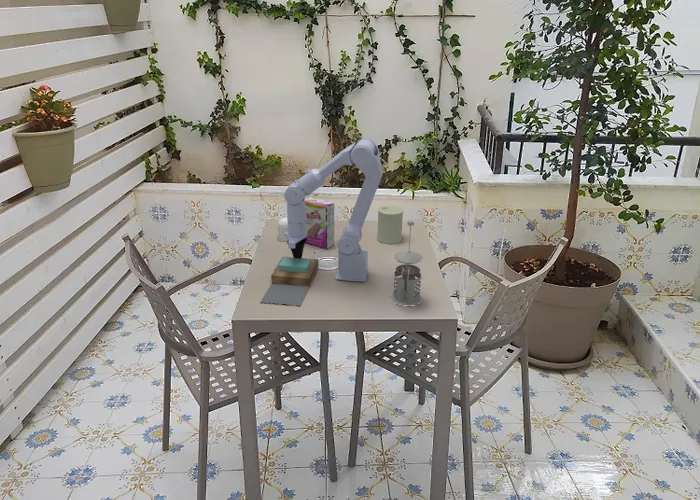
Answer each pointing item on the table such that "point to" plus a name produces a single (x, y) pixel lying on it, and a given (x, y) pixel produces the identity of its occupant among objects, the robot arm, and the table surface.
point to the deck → (295, 275)
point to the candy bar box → (319, 222)
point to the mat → (285, 294)
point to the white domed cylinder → (282, 229)
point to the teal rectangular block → (295, 265)
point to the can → (390, 224)
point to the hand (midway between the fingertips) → (297, 259)
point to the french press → (407, 277)
